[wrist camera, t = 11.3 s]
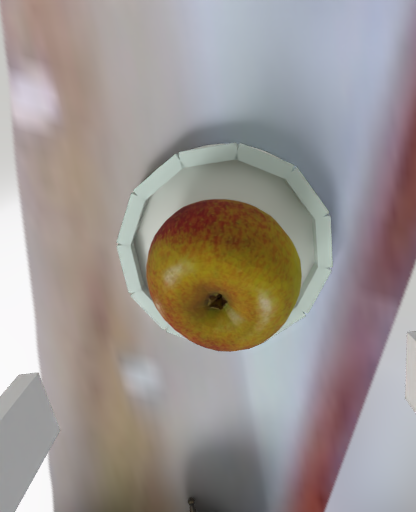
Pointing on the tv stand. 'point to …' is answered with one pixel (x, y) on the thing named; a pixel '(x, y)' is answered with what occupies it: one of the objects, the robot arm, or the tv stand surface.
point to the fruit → (223, 274)
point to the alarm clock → (192, 505)
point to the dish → (232, 188)
